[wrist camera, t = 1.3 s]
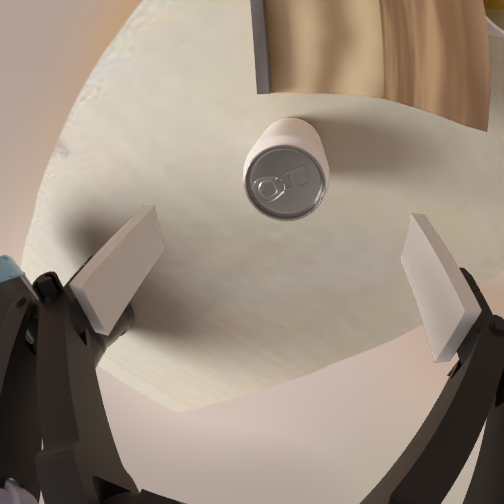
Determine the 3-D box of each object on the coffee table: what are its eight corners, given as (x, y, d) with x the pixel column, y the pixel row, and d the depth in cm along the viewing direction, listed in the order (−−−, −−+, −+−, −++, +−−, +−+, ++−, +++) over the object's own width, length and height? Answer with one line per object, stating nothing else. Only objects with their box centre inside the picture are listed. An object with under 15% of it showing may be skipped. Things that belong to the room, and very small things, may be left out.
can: (250, 131, 28) (221, 161, 19) (306, 107, 26) (310, 124, 16) (276, 182, 31) (262, 237, 22) (330, 162, 29) (344, 209, 19)
